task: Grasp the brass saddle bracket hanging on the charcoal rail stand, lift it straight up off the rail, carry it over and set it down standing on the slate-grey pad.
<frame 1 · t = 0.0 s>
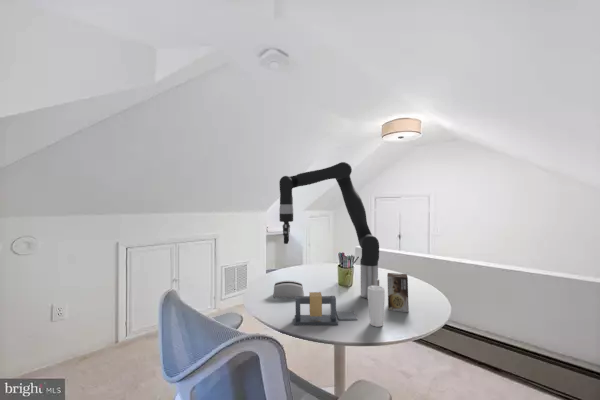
hand: (286, 242, 140), 29 cm above the table, fingers open, 8 cm apart
brass saddle: (315, 313, 109), point 3 cm above the table, touching rail stand
cookie box: (397, 309, 122), on the table
grey curved block: (288, 297, 139), on the table
rail stand: (315, 321, 109), on the table
drinking glass: (376, 324, 106), on the table
slate pad: (346, 316, 114), on the table
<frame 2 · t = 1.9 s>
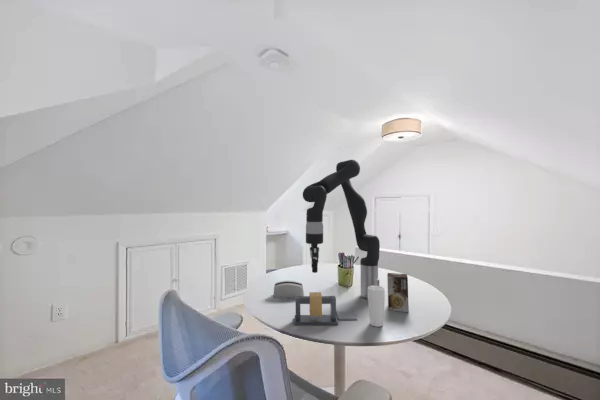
hand: (314, 270, 110), 22 cm above the table, fingers open, 8 cm apart
nothing on the table moved.
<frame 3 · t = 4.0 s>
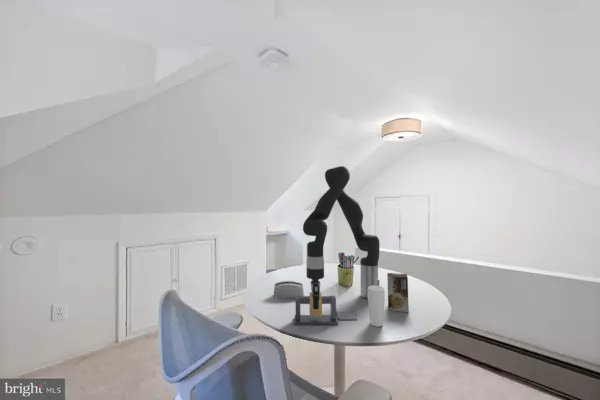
hand: (315, 306, 109), 6 cm above the table, fingers closed on brass saddle, 5 cm apart
brass saddle: (315, 313, 109), point 3 cm above the table, touching gripper, rail stand
everything else where it was.
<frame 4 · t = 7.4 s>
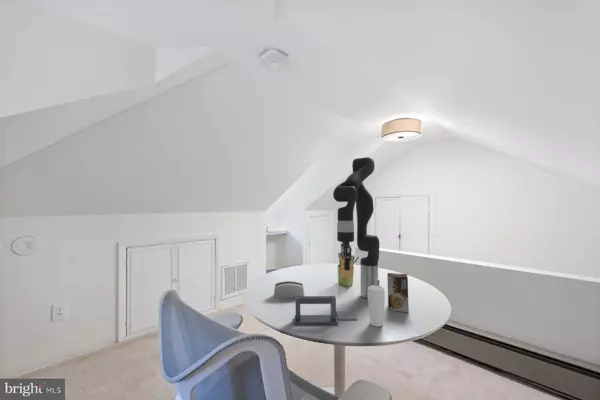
hand: (345, 268, 115), 21 cm above the table, fingers closed on brass saddle, 5 cm apart
brass saddle: (346, 275, 115), point 18 cm above the table, touching gripper
everything else where it was.
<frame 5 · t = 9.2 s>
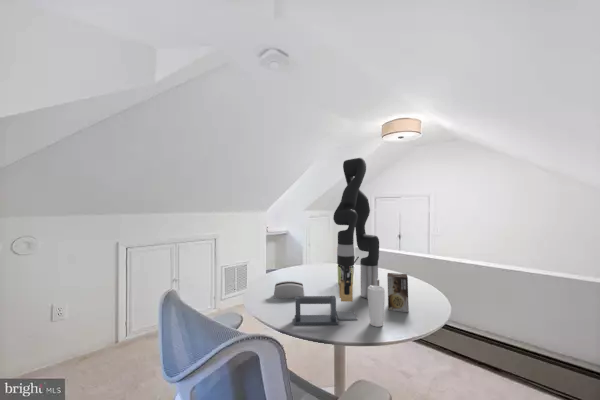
hand: (345, 292, 114), 11 cm above the table, fingers closed on brass saddle, 5 cm apart
brass saddle: (345, 299, 114), point 7 cm above the table, touching gripper
everything else where it was.
when the fingers open (5 cm above the table, at t = 10.8 s): brass saddle drops 1 cm, resting on slate pad.
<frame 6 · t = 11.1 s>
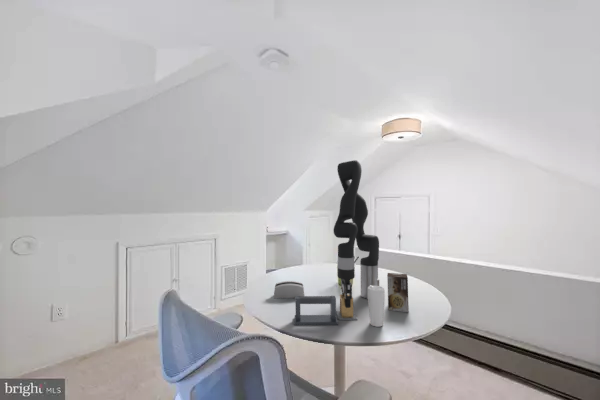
hand: (346, 303, 114), 5 cm above the table, fingers open, 7 cm apart
brass saddle: (346, 315, 114), point 1 cm above the table, touching slate pad
everything else where it was.
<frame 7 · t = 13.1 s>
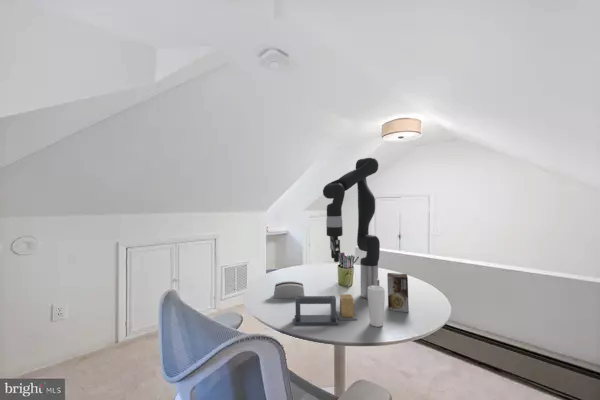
hand: (335, 260, 121), 24 cm above the table, fingers open, 8 cm apart
nothing on the table moved.
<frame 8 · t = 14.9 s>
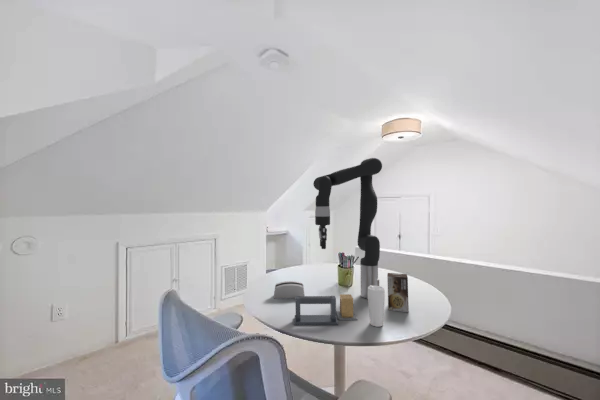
hand: (322, 247, 130), 28 cm above the table, fingers open, 8 cm apart
at the end: brass saddle inside the target area on the slate pad (0.2 cm from its centre), point 0.6 cm above the slate pad's base; brass saddle tilted 0°; the gripper is holding nothing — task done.
